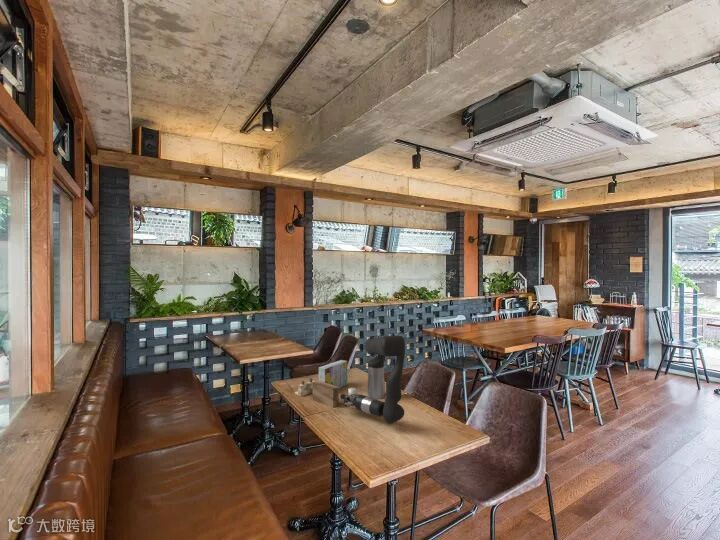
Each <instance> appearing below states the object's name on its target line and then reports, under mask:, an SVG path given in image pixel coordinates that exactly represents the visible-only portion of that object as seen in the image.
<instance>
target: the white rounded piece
mask: <svg viewBox="0 0 720 540" xmlns="http://www.w3.org/2000/svg"><path fill="white" fill-rule="evenodd" d="M357 389H358V388H356V387H349V388H348V389H347V391H348V392H347V393H348V395H351V394H358V393H357V392H358V391H357Z"/></svg>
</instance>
